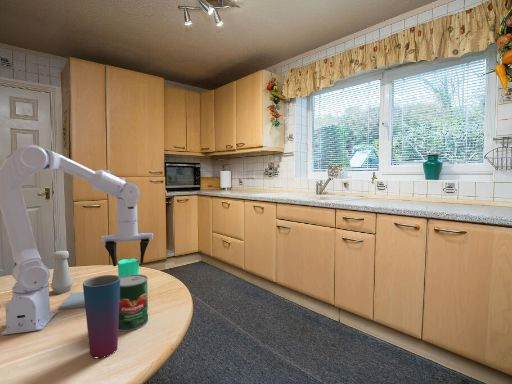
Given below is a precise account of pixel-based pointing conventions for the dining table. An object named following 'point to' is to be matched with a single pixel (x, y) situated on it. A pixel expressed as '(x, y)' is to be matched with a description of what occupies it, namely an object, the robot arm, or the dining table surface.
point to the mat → (74, 301)
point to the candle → (128, 267)
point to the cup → (102, 313)
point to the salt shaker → (61, 273)
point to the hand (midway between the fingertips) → (128, 264)
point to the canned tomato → (133, 302)
